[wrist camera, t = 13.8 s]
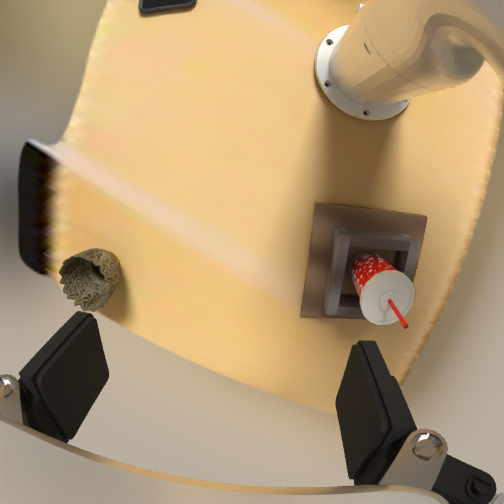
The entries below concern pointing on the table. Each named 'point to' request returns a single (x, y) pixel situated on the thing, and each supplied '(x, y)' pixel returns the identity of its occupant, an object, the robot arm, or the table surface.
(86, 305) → the cup
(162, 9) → the phone
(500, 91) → the table surface
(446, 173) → the table surface
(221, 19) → the table surface
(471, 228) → the table surface
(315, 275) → the socket board
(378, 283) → the beverage cup
